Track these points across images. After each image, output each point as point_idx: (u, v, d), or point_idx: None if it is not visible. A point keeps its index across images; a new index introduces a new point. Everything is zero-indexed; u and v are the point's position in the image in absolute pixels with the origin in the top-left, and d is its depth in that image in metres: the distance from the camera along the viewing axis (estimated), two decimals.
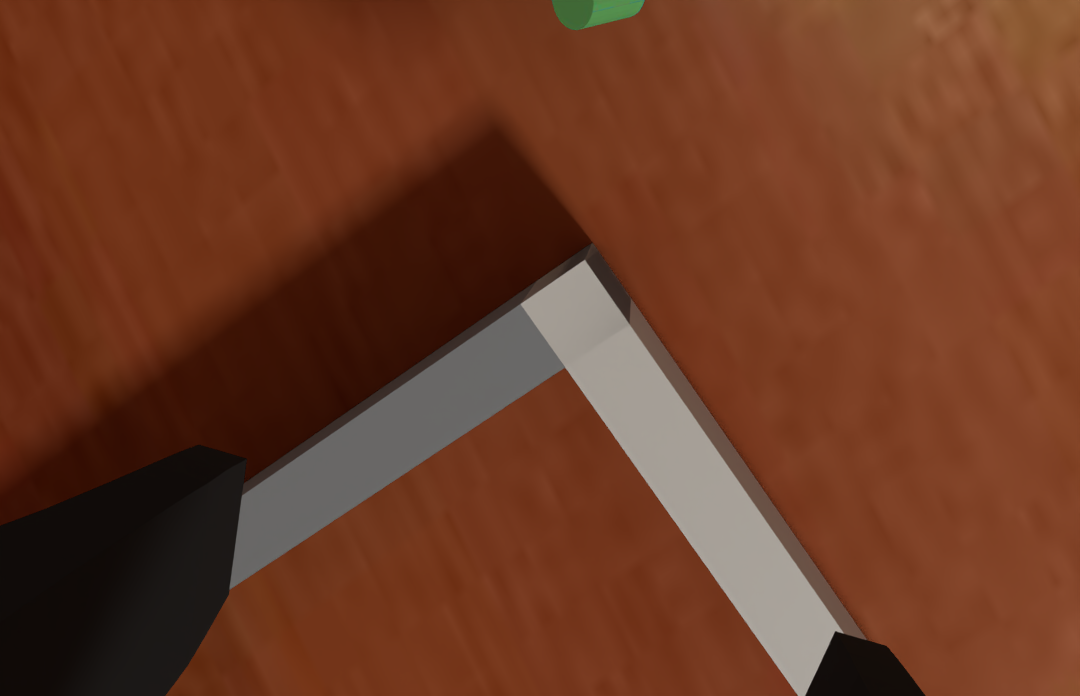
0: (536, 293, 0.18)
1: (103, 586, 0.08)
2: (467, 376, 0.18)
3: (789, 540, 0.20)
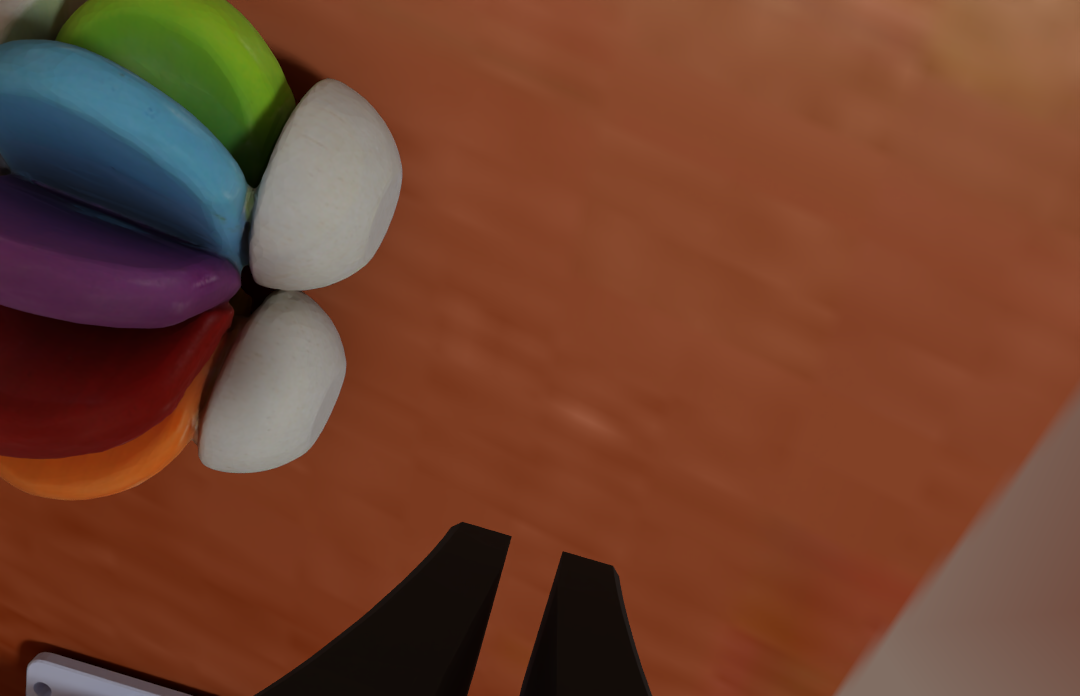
0: None
1: (445, 689, 0.08)
2: None
3: None
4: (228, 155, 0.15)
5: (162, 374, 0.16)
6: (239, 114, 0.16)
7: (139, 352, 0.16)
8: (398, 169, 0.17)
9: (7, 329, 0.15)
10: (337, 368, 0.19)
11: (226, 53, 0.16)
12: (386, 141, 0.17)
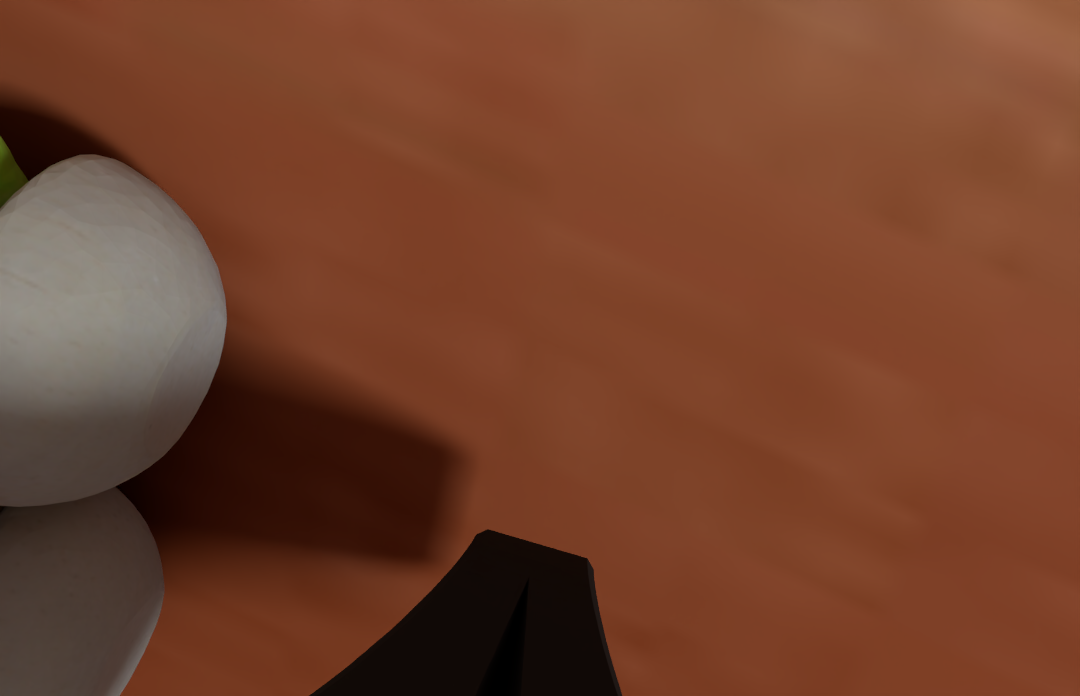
0: None
1: None
2: None
3: None
4: None
5: None
6: None
7: None
8: (208, 305, 0.10)
9: None
10: (133, 606, 0.12)
11: None
12: (180, 263, 0.10)
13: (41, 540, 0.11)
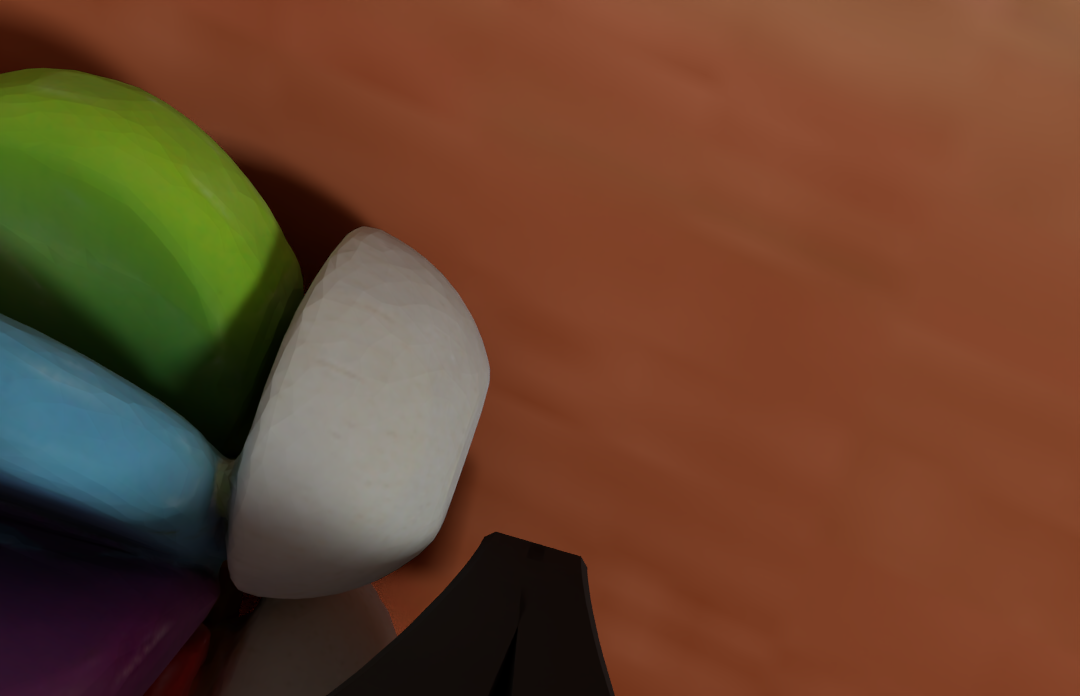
0: None
1: None
2: None
3: None
4: (174, 426, 0.08)
5: None
6: (200, 313, 0.09)
7: None
8: (486, 378, 0.10)
9: None
10: None
11: (167, 208, 0.08)
12: (466, 338, 0.09)
13: (307, 627, 0.11)
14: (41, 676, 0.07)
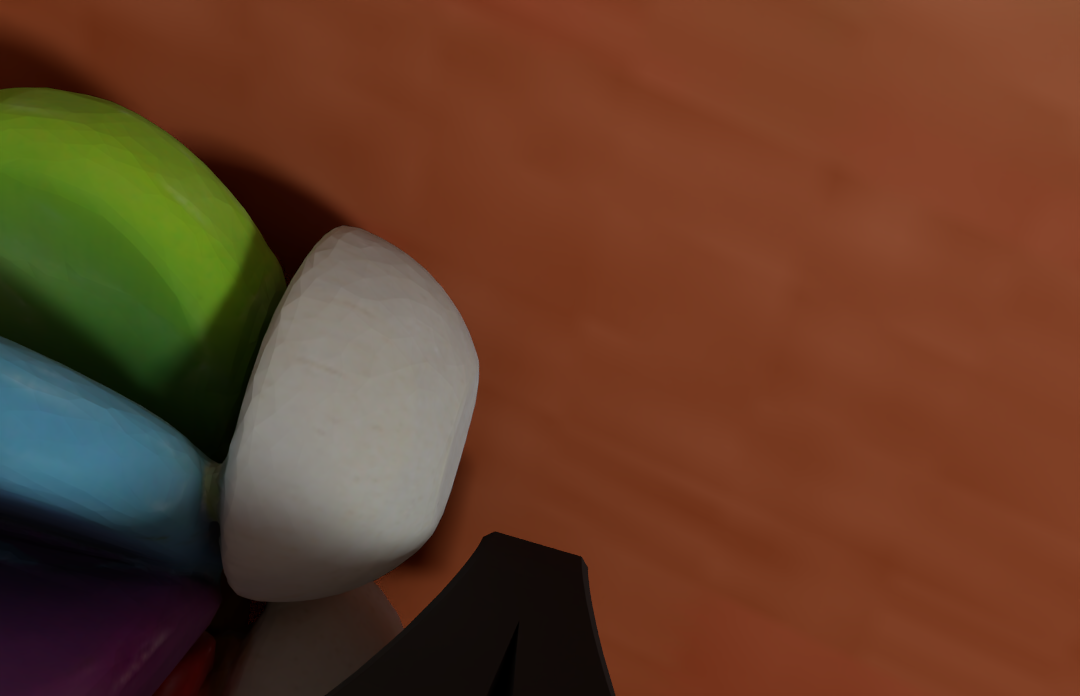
0: None
1: None
2: None
3: None
4: (156, 429, 0.08)
5: None
6: (181, 321, 0.09)
7: None
8: (474, 370, 0.10)
9: None
10: None
11: (142, 217, 0.08)
12: (450, 329, 0.09)
13: (312, 631, 0.11)
14: (36, 686, 0.07)
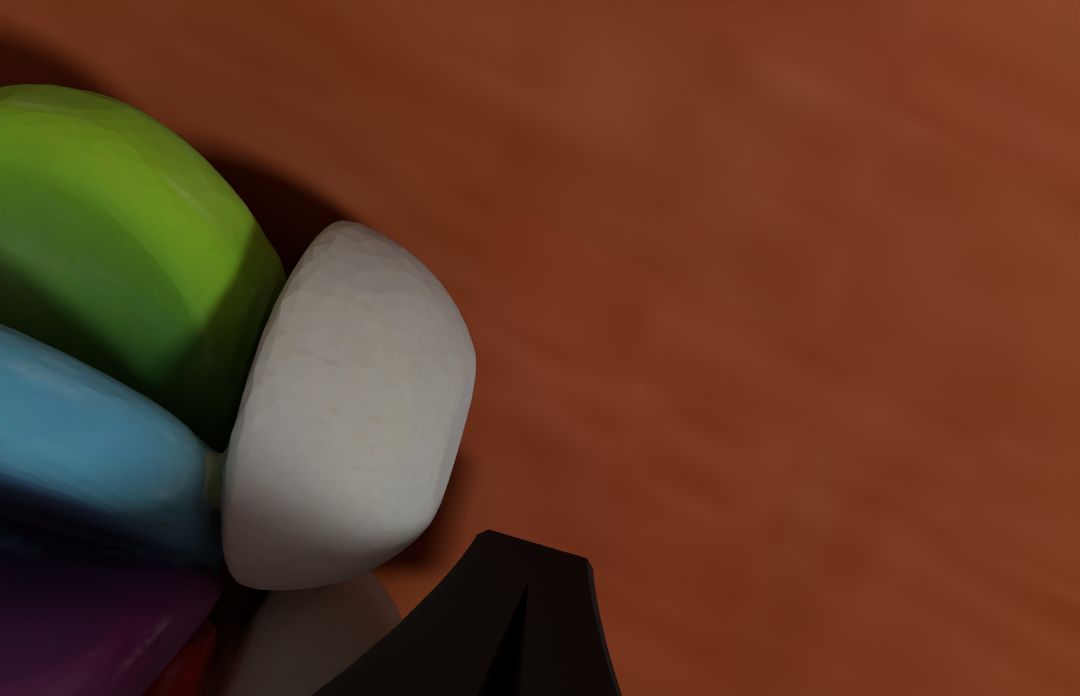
0: None
1: None
2: None
3: None
4: (158, 418, 0.08)
5: None
6: (183, 313, 0.09)
7: None
8: (471, 362, 0.10)
9: None
10: None
11: (144, 210, 0.09)
12: (446, 322, 0.10)
13: (312, 619, 0.11)
14: (41, 669, 0.07)
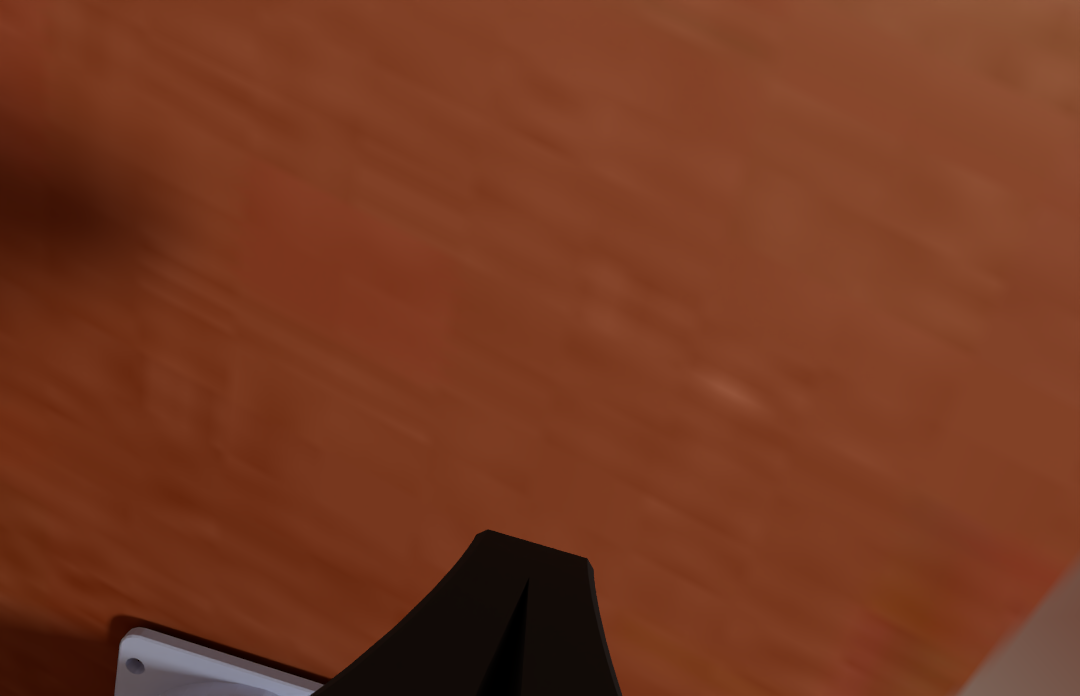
0: None
1: None
2: None
3: None
4: None
5: None
6: None
7: None
8: None
9: None
10: None
11: None
12: None
13: None
14: None
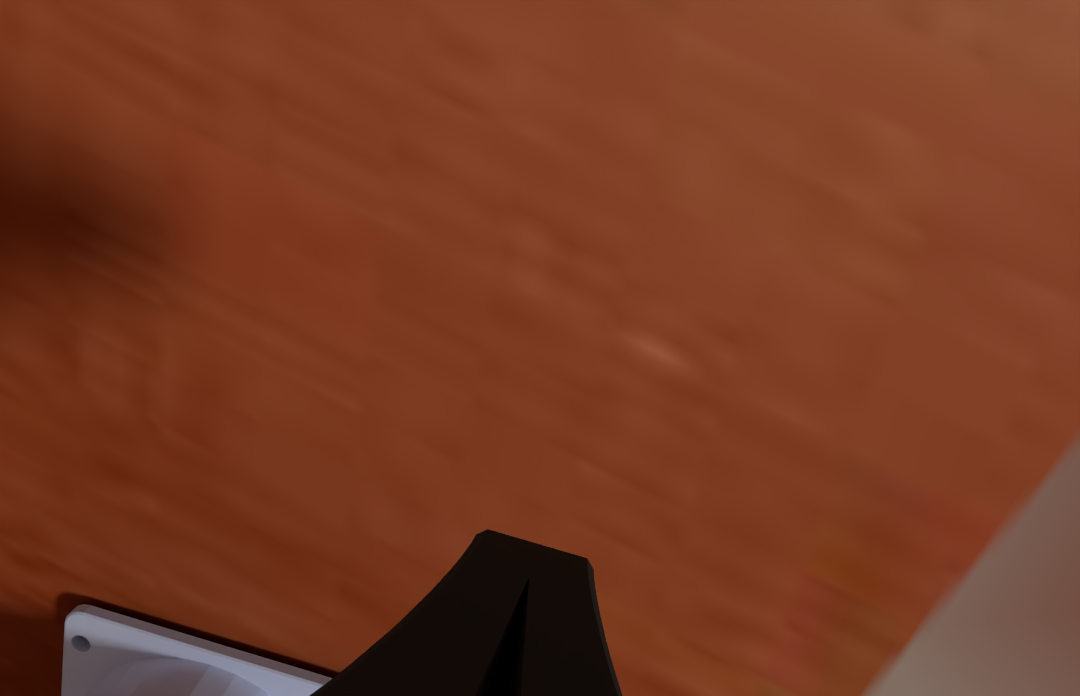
0: None
1: None
2: None
3: None
4: None
5: None
6: None
7: None
8: None
9: None
10: None
11: None
12: None
13: None
14: None
